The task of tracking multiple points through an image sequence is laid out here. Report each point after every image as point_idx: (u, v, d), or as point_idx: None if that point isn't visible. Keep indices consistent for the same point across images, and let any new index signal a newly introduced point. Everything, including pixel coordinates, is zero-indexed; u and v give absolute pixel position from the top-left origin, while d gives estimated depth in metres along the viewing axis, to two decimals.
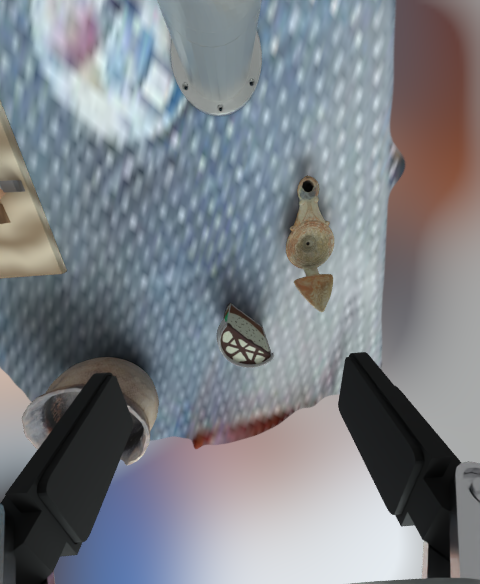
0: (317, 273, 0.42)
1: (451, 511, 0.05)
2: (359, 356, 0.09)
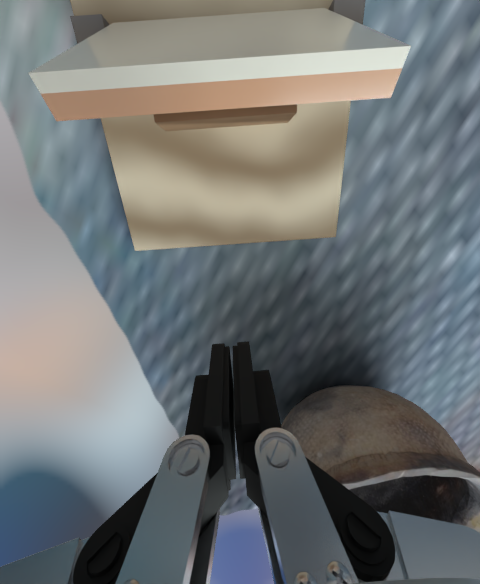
0: None
1: (244, 465, 0.06)
2: (240, 345, 0.10)
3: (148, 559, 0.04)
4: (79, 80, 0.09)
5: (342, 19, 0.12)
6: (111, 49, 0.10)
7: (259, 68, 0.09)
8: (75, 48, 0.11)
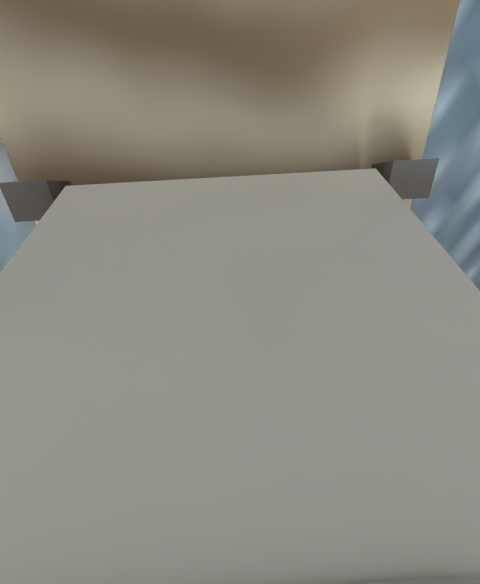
0: None
1: None
2: None
3: None
4: None
5: (428, 245, 0.07)
6: (9, 390, 0.05)
7: None
8: None
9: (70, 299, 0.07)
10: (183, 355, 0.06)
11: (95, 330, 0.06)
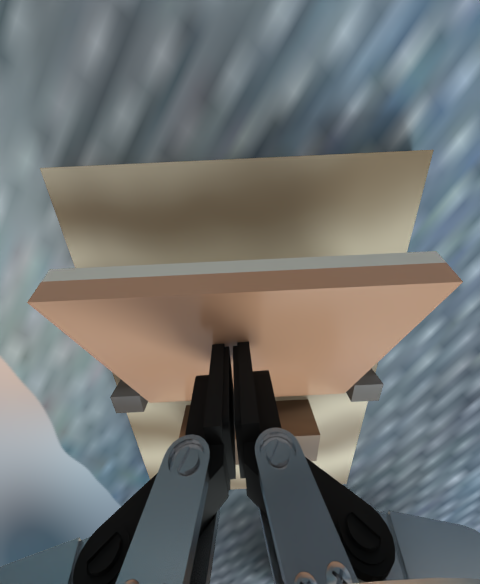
0: None
1: (244, 465, 0.06)
2: (240, 345, 0.10)
3: (148, 559, 0.04)
4: (93, 272, 0.08)
5: None
6: None
7: (285, 264, 0.08)
8: None
9: None
10: None
11: None
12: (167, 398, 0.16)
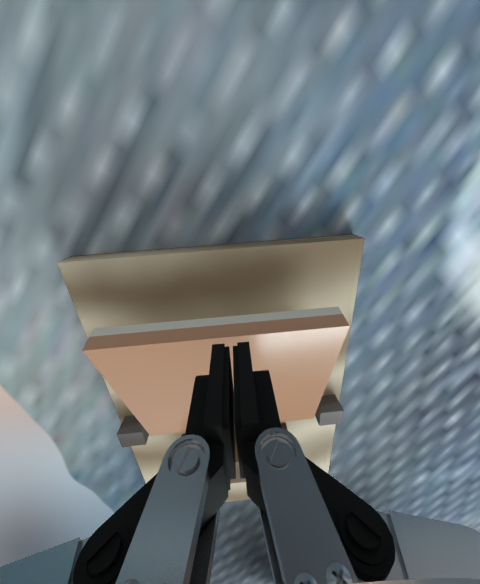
0: None
1: (244, 465, 0.06)
2: (240, 345, 0.10)
3: (148, 559, 0.04)
4: (122, 329, 0.13)
5: None
6: None
7: (244, 318, 0.13)
8: None
9: None
10: None
11: None
12: (165, 430, 0.19)
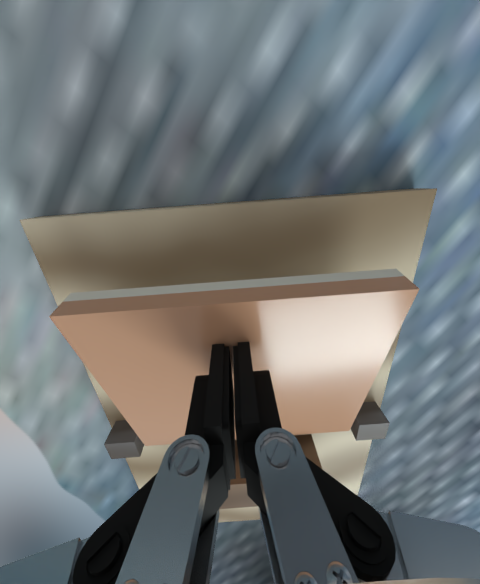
0: None
1: (244, 465, 0.06)
2: (241, 345, 0.10)
3: (148, 559, 0.04)
4: (107, 293, 0.10)
5: None
6: None
7: (268, 282, 0.10)
8: None
9: None
10: None
11: None
12: (163, 439, 0.15)
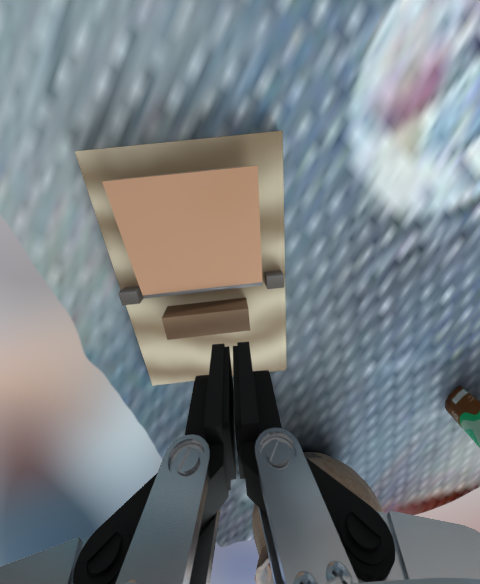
0: None
1: (244, 465, 0.06)
2: (240, 345, 0.10)
3: (148, 559, 0.04)
4: (125, 178, 0.22)
5: None
6: None
7: (197, 171, 0.22)
8: None
9: None
10: None
11: None
12: (153, 287, 0.26)
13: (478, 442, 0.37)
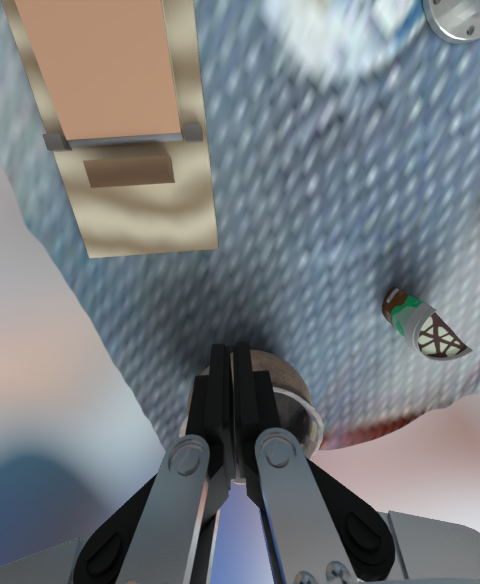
0: None
1: (244, 465, 0.06)
2: (240, 345, 0.10)
3: (148, 559, 0.04)
4: None
5: None
6: None
7: None
8: None
9: None
10: None
11: None
12: (75, 130, 0.28)
13: (403, 330, 0.38)
